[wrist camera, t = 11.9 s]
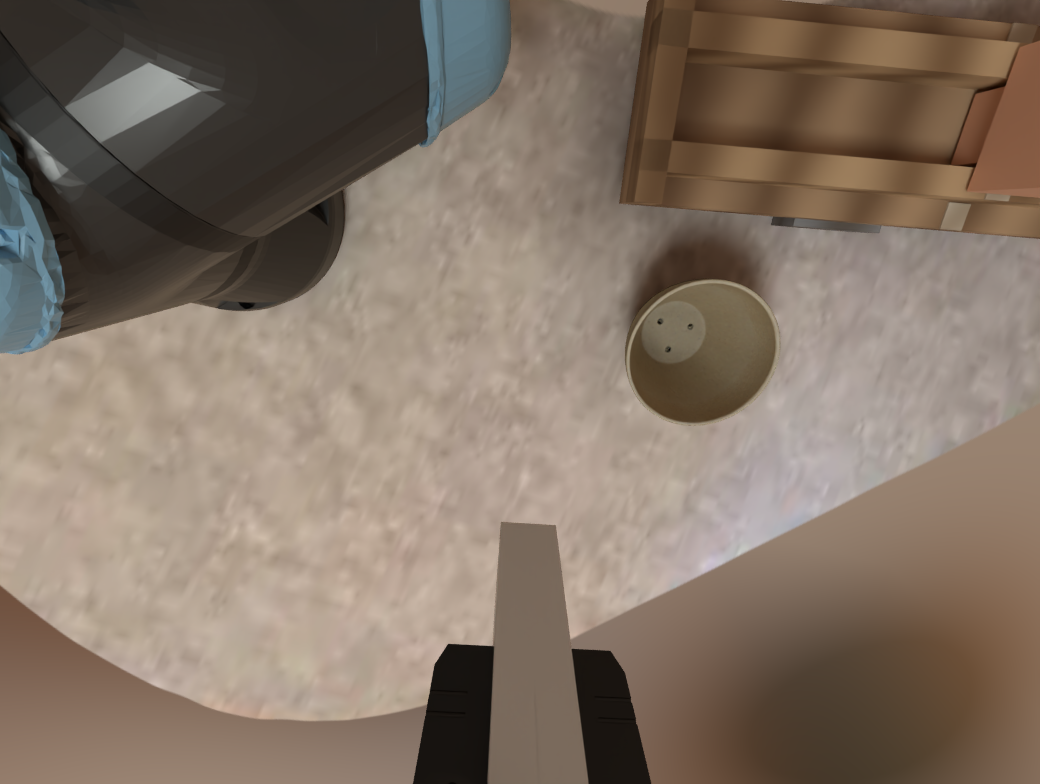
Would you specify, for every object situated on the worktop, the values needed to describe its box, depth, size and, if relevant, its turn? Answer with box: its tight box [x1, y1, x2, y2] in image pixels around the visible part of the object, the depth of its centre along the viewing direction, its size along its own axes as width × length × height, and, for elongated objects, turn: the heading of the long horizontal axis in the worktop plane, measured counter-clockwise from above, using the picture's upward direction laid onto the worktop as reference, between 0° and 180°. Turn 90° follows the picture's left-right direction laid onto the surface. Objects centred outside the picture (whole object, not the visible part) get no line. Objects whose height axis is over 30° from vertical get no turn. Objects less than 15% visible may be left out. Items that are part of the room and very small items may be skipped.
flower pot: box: [625, 279, 780, 426], centre depth 35 cm, size 10×10×7 cm
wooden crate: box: [619, 0, 1040, 239], centre depth 30 cm, size 30×12×8 cm, turn 86°
